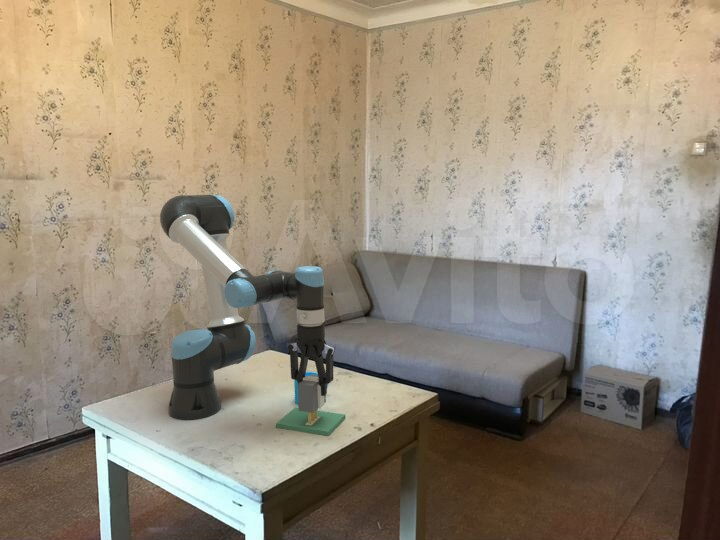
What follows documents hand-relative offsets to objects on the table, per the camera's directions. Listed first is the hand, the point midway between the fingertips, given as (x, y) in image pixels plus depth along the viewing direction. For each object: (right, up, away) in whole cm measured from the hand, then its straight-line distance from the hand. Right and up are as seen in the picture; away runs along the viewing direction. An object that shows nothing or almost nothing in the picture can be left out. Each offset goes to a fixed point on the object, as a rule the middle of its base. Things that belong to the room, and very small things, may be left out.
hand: (312, 404), depth 152 cm
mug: (-2, -3, +19) cm, 20 cm away
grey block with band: (0, 0, 0) cm, 0 cm away
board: (-1, -6, +2) cm, 6 cm away
